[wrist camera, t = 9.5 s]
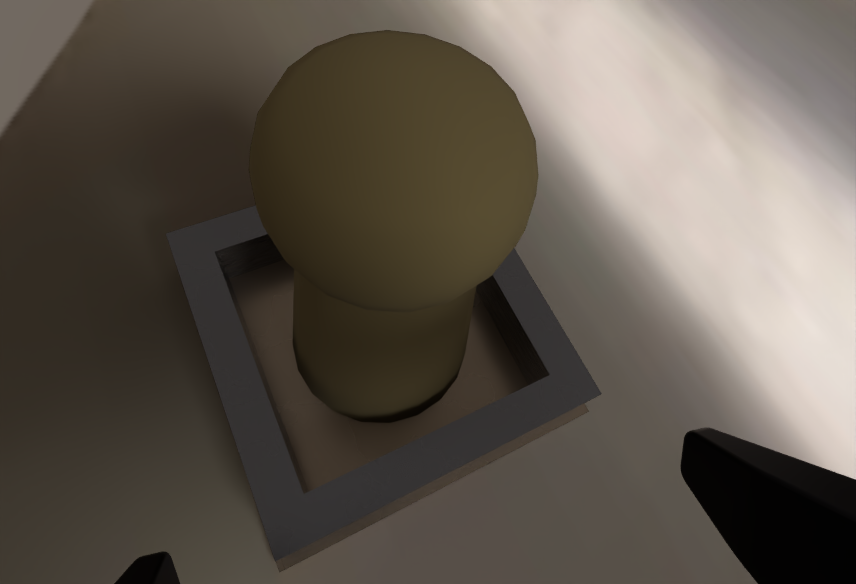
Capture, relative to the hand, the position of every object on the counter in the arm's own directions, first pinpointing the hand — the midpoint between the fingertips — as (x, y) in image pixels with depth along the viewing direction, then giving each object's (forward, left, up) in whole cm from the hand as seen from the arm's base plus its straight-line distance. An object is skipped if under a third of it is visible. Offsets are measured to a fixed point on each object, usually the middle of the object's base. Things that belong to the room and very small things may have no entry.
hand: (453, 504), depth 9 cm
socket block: (+6, -1, -8) cm, 10 cm away
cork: (+6, -1, -8) cm, 10 cm away
